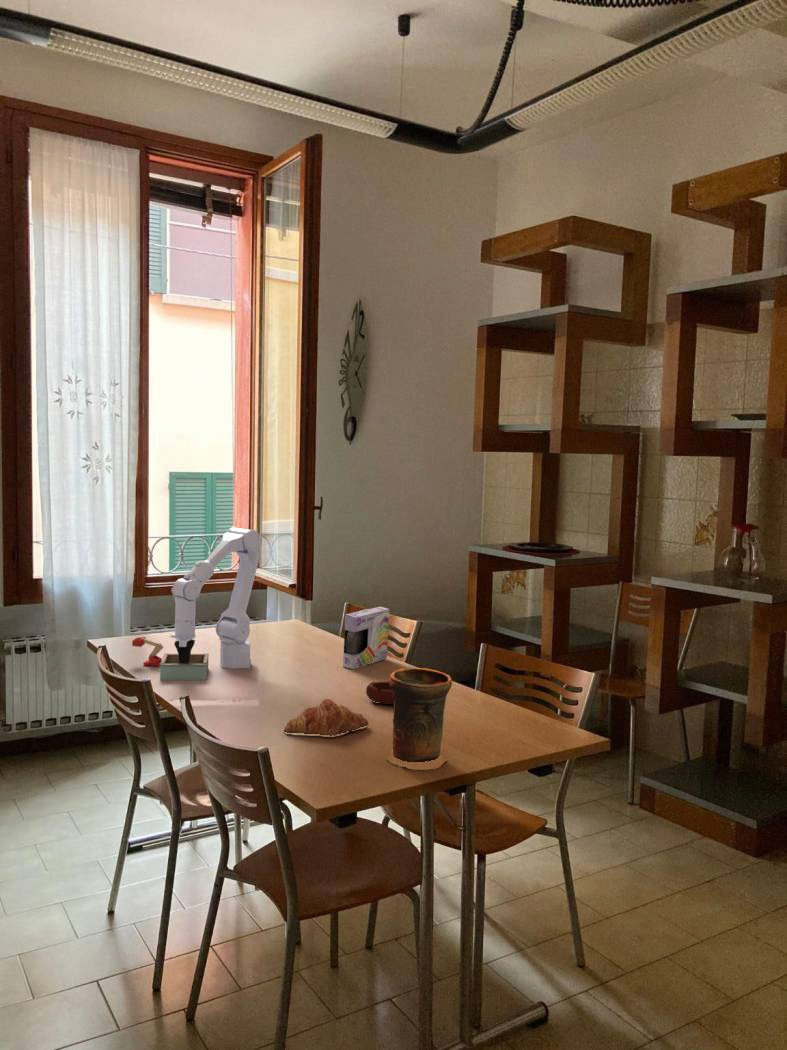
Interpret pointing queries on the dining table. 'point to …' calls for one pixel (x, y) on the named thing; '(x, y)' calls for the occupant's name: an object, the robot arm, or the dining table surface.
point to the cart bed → (193, 659)
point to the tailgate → (183, 671)
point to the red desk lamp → (153, 658)
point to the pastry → (326, 720)
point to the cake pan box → (365, 637)
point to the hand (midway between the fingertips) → (184, 665)
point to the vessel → (418, 713)
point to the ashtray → (380, 692)
